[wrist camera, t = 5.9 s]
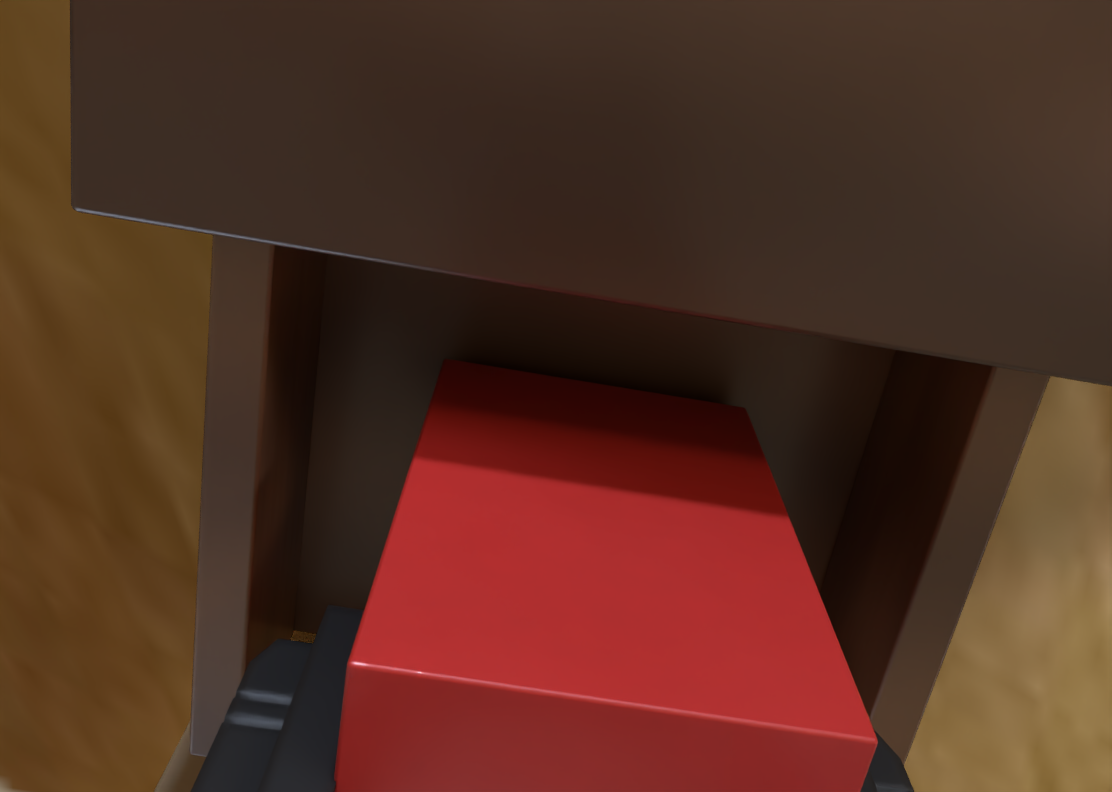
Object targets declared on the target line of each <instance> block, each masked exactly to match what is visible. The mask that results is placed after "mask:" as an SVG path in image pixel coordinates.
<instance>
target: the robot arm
mask: <svg viewBox="0 0 1112 792" xmlns="http://www.w3.org/2000/svg"><path fill="white" fill-rule="evenodd" d="M363 612H364V610H360V609H353V608H347V607H340V606H333V605H328V606H327V608H326V611H325V613H324V616H323V619H322V621H321V624H320V626H319V629H318V632H317V634H316V637H315V640H314V642H313V644H312V643H305V642H299V641H292V640H285V639H277V640H276V641H275V642H273V643H272V644H271V645H270V646H269V647H267V648H266V649H265V650H264V651H262V652H261V653H260V654H259V655H258V656H256V657H255V658H254V659H253V660H251V661H250V662H249V665H248V667H247V669H246V671H245V673H244V676H243V678H242V680H241V682H240V684H239V687H238V689H237V691H236V696H235V698H234V697H233V700H232V702H231V704H230V706H229V708H228V711H227V713H226V715H225V719H224V723H223V722H222V724H221V726H220V728H219V730H218V732H217V735H216V737H215V739H214V741H213V743H212V746H211V748H210V750H209V752H208V754H207V757H206V759H205V761H204V763H203V765H202V768H201V770H200V772H199V774H198V776H197V778H196V781H195V783H194V785H193V787H192V789H191V792H335V787H336V781H335V780H334V772H335V763H336V755H337V746H338V737H339V729H340V720H341V711H342V703H343V694H344V685H345V677H346V668H347V662H348V659H349V656H350V653H351V650H352V647H353V643H354V640H355V637H356V634H357V631H358V628H359V625H360V621H361V618H362V615H363ZM874 732H875V734H876V737H877V740H878V744H877V747H876V750H875V753H874V755H873V758H872V761H871V764H870V766H869V769H868V772H867V775H866V777H865V780H864V783H863V786H862V788H861V791H860V792H914V790H913V787H912V785H911V783H910V780H909V778H908V775H907V773H906V771H905V768H904V766H903V763H902V761H901V759H900V758H899V756H898V755H897V754H896V753H895V752H894V751H893V750H892V749H891V747H890V746H889V745H888V744H887V743H886V742H885V741H884V740H883V739H882V737H881V736H880V735H879V734H878V733H877V732H876V731H875V730H874Z"/></svg>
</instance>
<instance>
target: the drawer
mask: <svg viewBox="0 0 1112 792" xmlns="http://www.w3.org/2000/svg"><path fill="white" fill-rule="evenodd" d="M444 359H451V360H457V361H463V362H469V363H475V364H481V365H487V366H493V367H499V368H506V369H512V370H518V371H524V372H530V373H536V374H542V375H548V376H554V377H560V378H567V379H573V380H579V381H585V382H591V383H597V384H603V385H609V386H615V387H622V388H628V389H634V390H640V391H646V392H652V393H658V394H664V395H670V396H676V397H683V398H689V399H695V400H701V401H707V402H713V403H719V404H725V405H731V406H737V407H744V408H745V409H746V410H747V413H748V415H749V418H750V420H751V423H752V425H753V428H754V430H755V433H756V435H757V438H758V440H759V443H760V445H761V448H762V450H763V453H764V455H765V458H766V460H767V463H768V465H769V468H770V470H771V473H772V475H773V478H774V480H775V483H776V486H777V488H778V491H779V493H780V496H781V498H782V501H783V503H784V506H785V508H786V511H787V513H788V516H789V518H790V521H791V523H792V526H793V528H794V531H795V533H796V536H797V538H798V541H799V543H800V546H801V548H802V551H803V553H804V556H805V558H806V561H807V563H808V566H809V568H810V571H811V573H812V576H813V578H814V581H815V584H816V586H817V589H818V591H819V594H820V596H821V599H822V601H823V604H824V606H825V609H826V611H827V614H828V616H829V619H830V621H831V624H832V626H833V629H834V631H835V634H836V636H837V639H838V641H839V644H840V646H841V649H842V651H843V654H844V656H845V659H846V661H847V664H848V666H849V669H850V671H851V674H852V676H853V679H854V682H855V684H856V687H857V689H858V692H859V694H860V697H861V699H862V702H863V704H864V707H865V709H866V712H867V714H868V717H869V719H870V722H871V724H872V727H873V729H874V730H875V731H876V732H877V733H878V734H879V735H880V736H881V737H882V739H883V740H884V741H885V742H886V743H887V744H888V745H889V746H890V747H891V749H892V750H893V751H894V752H895V753H896V754H897V755H898V756H899V758H900V759H901V761H902V763H903V766H904V764H905V761H906V758H907V756H908V753H909V750H910V748H911V745H912V743H913V740H914V737H915V735H916V732H917V729H918V727H919V724H920V721H921V719H922V716H923V713H924V711H925V708H926V705H927V703H928V700H929V697H930V695H931V692H932V689H933V687H934V684H935V681H936V679H937V676H938V673H939V671H940V668H941V665H942V663H943V660H944V657H945V655H946V652H947V649H948V647H949V644H950V641H951V639H952V636H953V633H954V631H955V628H956V625H957V623H958V620H959V618H960V615H961V612H962V610H963V607H964V604H965V602H966V599H967V596H968V594H969V591H970V588H971V586H972V583H973V580H974V578H975V575H976V572H977V570H978V567H979V564H980V562H981V559H982V556H983V554H984V551H985V548H986V546H987V543H988V540H989V538H990V535H991V532H992V530H993V527H994V524H995V522H996V519H997V516H998V514H999V511H1000V508H1001V506H1002V503H1003V500H1004V498H1005V495H1006V492H1007V490H1008V487H1009V485H1010V482H1011V479H1012V477H1013V474H1014V471H1015V469H1016V466H1017V463H1018V461H1019V458H1020V455H1021V453H1022V450H1023V447H1024V445H1025V442H1026V439H1027V437H1028V434H1029V431H1030V429H1031V426H1032V423H1033V421H1034V418H1035V415H1036V413H1037V410H1038V407H1039V405H1040V402H1041V399H1042V397H1043V394H1044V391H1045V389H1046V386H1047V383H1048V381H1049V378H1050V376H1047V375H1041V374H1035V373H1029V372H1023V371H1018V370H1012V369H1006V368H1000V367H994V366H988V365H982V364H976V363H970V362H964V361H958V360H952V359H946V358H940V357H935V356H929V355H923V354H917V353H911V352H905V351H899V350H893V349H887V348H881V347H875V346H869V345H863V344H858V343H852V342H846V341H840V340H834V339H828V338H822V337H816V336H810V335H804V334H798V333H792V332H786V331H780V330H775V329H769V328H763V327H757V326H751V325H745V324H739V323H733V322H727V321H721V320H715V319H709V318H703V317H698V316H692V315H686V314H680V313H674V312H668V311H662V310H656V309H650V308H644V307H638V306H632V305H626V304H620V303H615V302H609V301H603V300H597V299H591V298H585V297H579V296H573V295H567V294H561V293H555V292H549V291H543V290H537V289H532V288H526V287H520V286H514V285H508V284H502V283H496V282H490V281H484V280H478V279H472V278H466V277H460V276H455V275H449V274H443V273H437V272H431V271H425V270H419V269H413V268H407V267H401V266H395V265H389V264H383V263H377V262H372V261H366V260H360V259H354V258H348V257H342V256H336V255H330V254H324V253H318V252H312V251H306V250H300V249H294V248H289V247H283V246H277V245H271V244H265V243H259V242H253V241H247V240H241V239H235V238H229V237H223V236H217V235H213V246H212V268H211V290H210V311H209V333H208V355H207V376H206V398H205V420H204V441H203V463H202V485H201V506H200V528H199V549H198V571H197V593H196V614H195V636H194V658H193V679H192V701H191V720H190V722H189V724H188V726H187V728H186V730H185V732H184V733H183V735H182V737H181V739H180V741H179V743H178V745H177V747H176V749H175V751H174V753H173V755H172V757H171V759H170V761H169V763H168V765H167V767H166V769H165V771H164V773H163V775H162V777H161V779H160V781H159V782H158V784H157V786H156V788H155V790H154V792H191V789H192V787H193V785H194V783H195V781H196V778H197V776H198V774H199V772H200V770H201V768H202V765H203V763H204V761H205V759H206V757H207V754H208V752H209V750H210V748H211V746H212V743H213V741H214V739H215V737H216V735H217V732H218V730H219V728H220V726H221V724H222V722H223V723H224V719H225V715H226V713H227V711H228V708H229V706H230V704H231V702H232V700H233V697H234V698H235V696H236V691H237V689H238V687H239V684H240V682H241V680H242V678H243V676H244V673H245V671H246V669H247V667H248V665H249V662H250V661H251V660H253V659H254V658H255V657H256V656H258V655H259V654H260V653H261V652H262V651H264V650H265V649H266V648H267V647H269V646H270V645H271V644H272V643H273V642H275V641H276V640H277V639H285V640H290V638H291V636H292V634H293V631H294V630H296V631H302V632H309V633H316V634H317V632H318V629H319V626H320V624H321V621H322V619H323V616H324V613H325V611H326V608H327V606H328V605H333V606H340V607H347V608H353V609H360V610H364V609H365V606H366V602H367V599H368V596H369V593H370V590H371V587H372V584H373V580H374V577H375V574H376V571H377V568H378V565H379V562H380V558H381V555H382V552H383V549H384V546H385V543H386V540H387V536H388V533H389V530H390V527H391V524H392V521H393V517H394V514H395V511H396V508H397V505H398V502H399V499H400V495H401V492H402V489H403V486H404V483H405V480H406V477H407V473H408V470H409V467H410V464H411V461H412V458H413V454H414V451H415V448H416V445H417V442H418V439H419V436H420V432H421V429H422V426H423V423H424V420H425V417H426V414H427V410H428V407H429V404H430V401H431V398H432V395H433V391H434V388H435V385H436V382H437V379H438V376H439V373H440V369H441V366H442V363H443V361H444Z"/></svg>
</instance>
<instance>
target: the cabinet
mask: <svg viewBox="0 0 1112 792" xmlns="http://www.w3.org/2000/svg"><path fill="white" fill-rule="evenodd" d="M70 68H71V205H72V208H73V209H74V210H76V211H78V212H81V213H87V214H93V215H99V216H105V217H111V218H117V219H123V220H129V221H134V222H140V223H146V224H152V225H158V226H164V227H170V228H176V229H182V230H188V231H194V232H200V233H206V234H212V235H217V236H223V237H229V238H235V239H241V240H247V241H253V242H259V243H265V244H271V245H277V246H283V247H289V248H294V249H300V250H306V251H312V252H318V253H324V254H330V255H336V256H342V257H348V258H354V259H360V260H366V261H372V262H377V263H383V264H389V265H395V266H401V267H407V268H413V269H419V270H425V271H431V272H437V273H443V274H449V275H455V276H460V277H466V278H472V279H478V280H484V281H490V282H496V283H502V284H508V285H514V286H520V287H526V288H532V289H537V290H543V291H549V292H555V293H561V294H567V295H573V296H579V297H585V298H591V299H597V300H603V301H609V302H615V303H620V304H626V305H632V306H638V307H644V308H650V309H656V310H662V311H668V312H674V313H680V314H686V315H692V316H698V317H703V318H709V319H715V320H721V321H727V322H733V323H739V324H745V325H751V326H757V327H763V328H769V329H775V330H780V331H786V332H792V333H798V334H804V335H810V336H816V337H822V338H828V339H834V340H840V341H846V342H852V343H858V344H863V345H869V346H875V347H881V348H887V349H893V350H899V351H905V352H911V353H917V354H923V355H929V356H935V357H940V358H946V359H952V360H958V361H964V362H970V363H976V364H982V365H988V366H994V367H1000V368H1006V369H1012V370H1018V371H1023V372H1029V373H1035V374H1041V375H1047V376H1053V377H1059V378H1065V379H1071V380H1077V381H1083V382H1089V383H1095V384H1101V385H1106V386H1112V0H70Z"/></svg>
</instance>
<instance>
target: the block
mask: <svg viewBox="0 0 1112 792" xmlns="http://www.w3.org/2000/svg"><path fill="white" fill-rule="evenodd" d="M877 744H878V740H877V737H876V734H875V732H874V729H873V727H872V724H871V722H870V719H869V717H868V714H867V712H866V709H865V707H864V704H863V702H862V699H861V697H860V694H859V692H858V689H857V687H856V684H855V682H854V679H853V676H852V674H851V671H850V669H849V666H848V664H847V661H846V659H845V656H844V654H843V651H842V649H841V646H840V644H839V641H838V639H837V636H836V634H835V631H834V629H833V626H832V624H831V621H830V619H829V616H828V614H827V611H826V609H825V606H824V604H823V601H822V599H821V596H820V594H819V591H818V589H817V586H816V584H815V581H814V578H813V576H812V573H811V571H810V568H809V566H808V563H807V561H806V558H805V556H804V553H803V551H802V548H801V546H800V543H799V541H798V538H797V536H796V533H795V531H794V528H793V526H792V523H791V521H790V518H789V516H788V513H787V511H786V508H785V506H784V503H783V501H782V498H781V496H780V493H779V491H778V488H777V486H776V483H775V480H774V478H773V475H772V473H771V470H770V468H769V465H768V463H767V460H766V458H765V455H764V453H763V450H762V448H761V445H760V443H759V440H758V438H757V435H756V433H755V430H754V428H753V425H752V423H751V420H750V418H749V415H748V413H747V410H746V409H745V408H744V407H737V406H731V405H725V404H719V403H713V402H707V401H701V400H695V399H689V398H683V397H676V396H670V395H664V394H658V393H652V392H646V391H640V390H634V389H628V388H622V387H615V386H609V385H603V384H597V383H591V382H585V381H579V380H573V379H567V378H560V377H554V376H548V375H542V374H536V373H530V372H524V371H518V370H512V369H506V368H499V367H493V366H487V365H481V364H475V363H469V362H463V361H457V360H451V359H444V361H443V363H442V366H441V369H440V373H439V376H438V379H437V382H436V385H435V388H434V391H433V395H432V398H431V401H430V404H429V407H428V410H427V414H426V417H425V420H424V423H423V426H422V429H421V432H420V436H419V439H418V442H417V445H416V448H415V451H414V454H413V458H412V461H411V464H410V467H409V470H408V473H407V477H406V480H405V483H404V486H403V489H402V492H401V495H400V499H399V502H398V505H397V508H396V511H395V514H394V517H393V521H392V524H391V527H390V530H389V533H388V536H387V540H386V543H385V546H384V549H383V552H382V555H381V558H380V562H379V565H378V568H377V571H376V574H375V577H374V580H373V584H372V587H371V590H370V593H369V596H368V599H367V602H366V606H365V609H364V612H363V615H362V618H361V621H360V625H359V628H358V631H357V634H356V637H355V640H354V643H353V647H352V650H351V653H350V656H349V659H348V662H347V668H346V677H345V685H344V694H343V703H342V711H341V720H340V729H339V737H338V746H337V755H336V763H335V772H334V780H335V781H336V787H335V792H860V791H861V788H862V786H863V783H864V780H865V777H866V775H867V772H868V769H869V766H870V764H871V761H872V758H873V755H874V753H875V750H876V747H877Z"/></svg>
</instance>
